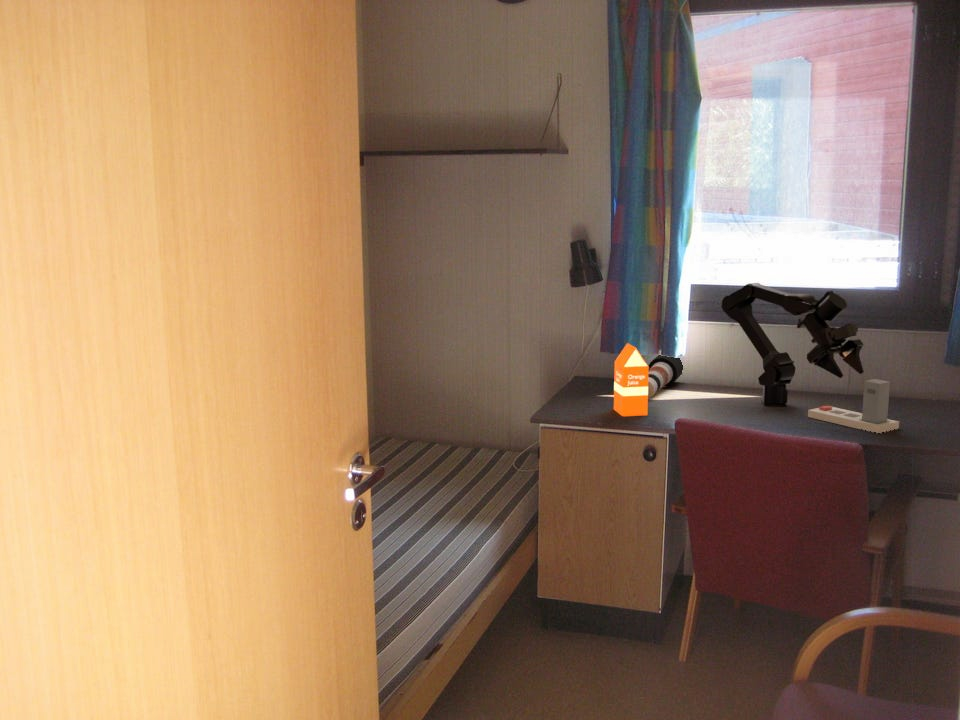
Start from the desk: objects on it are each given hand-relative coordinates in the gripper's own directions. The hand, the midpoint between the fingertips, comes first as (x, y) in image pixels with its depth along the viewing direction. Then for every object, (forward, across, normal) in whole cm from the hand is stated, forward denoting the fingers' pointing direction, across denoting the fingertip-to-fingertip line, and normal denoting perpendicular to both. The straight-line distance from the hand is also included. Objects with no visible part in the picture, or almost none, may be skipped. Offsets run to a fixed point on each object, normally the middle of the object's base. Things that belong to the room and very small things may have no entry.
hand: (852, 375), depth 256 cm
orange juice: (-21, -42, +41) cm, 62 cm away
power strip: (+10, 0, +9) cm, 13 cm away
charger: (+15, 0, +4) cm, 16 cm away
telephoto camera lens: (-33, -16, +52) cm, 64 cm away
